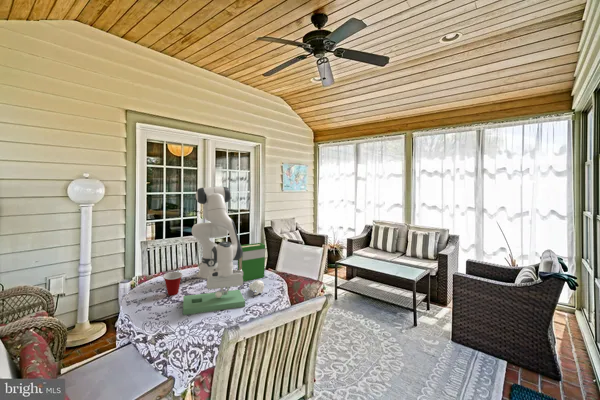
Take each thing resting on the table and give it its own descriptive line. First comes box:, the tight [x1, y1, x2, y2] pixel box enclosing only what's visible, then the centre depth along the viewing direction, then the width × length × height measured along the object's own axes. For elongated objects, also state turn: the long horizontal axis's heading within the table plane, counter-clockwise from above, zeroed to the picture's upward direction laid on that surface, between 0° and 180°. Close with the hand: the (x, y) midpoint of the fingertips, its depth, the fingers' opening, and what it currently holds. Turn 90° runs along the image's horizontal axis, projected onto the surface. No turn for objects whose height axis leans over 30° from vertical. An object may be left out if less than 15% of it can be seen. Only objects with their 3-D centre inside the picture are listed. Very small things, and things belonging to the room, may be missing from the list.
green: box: [182, 289, 246, 316], centre depth 163 cm, size 18×32×3 cm, turn 112°
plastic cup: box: [162, 271, 183, 296], centre depth 175 cm, size 11×11×12 cm
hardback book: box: [237, 242, 266, 283], centre depth 207 cm, size 18×7×24 cm, turn 127°
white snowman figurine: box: [248, 279, 265, 296], centre depth 181 cm, size 6×8×12 cm
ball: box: [215, 290, 222, 298], centre depth 164 cm, size 4×4×4 cm
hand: (225, 294), depth 165 cm, fingers closed
